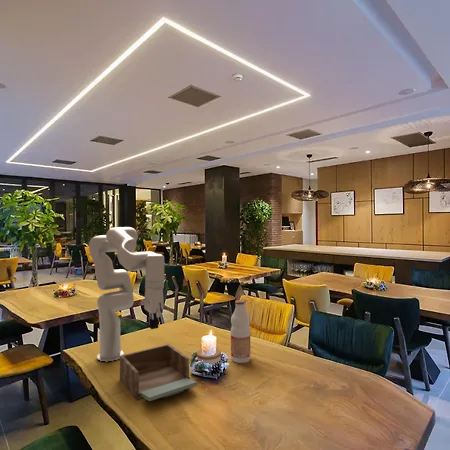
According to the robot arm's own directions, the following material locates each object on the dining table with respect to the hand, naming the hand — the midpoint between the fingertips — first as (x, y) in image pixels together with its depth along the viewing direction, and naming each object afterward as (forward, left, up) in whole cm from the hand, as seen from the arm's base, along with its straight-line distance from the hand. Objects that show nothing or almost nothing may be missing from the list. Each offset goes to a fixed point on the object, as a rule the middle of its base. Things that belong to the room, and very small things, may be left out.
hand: (153, 328), depth 133 cm
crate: (0, 0, -22) cm, 22 cm away
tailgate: (+10, 0, -20) cm, 23 cm away
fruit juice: (+4, +42, -23) cm, 48 cm away
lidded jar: (+4, +24, -23) cm, 33 cm away
